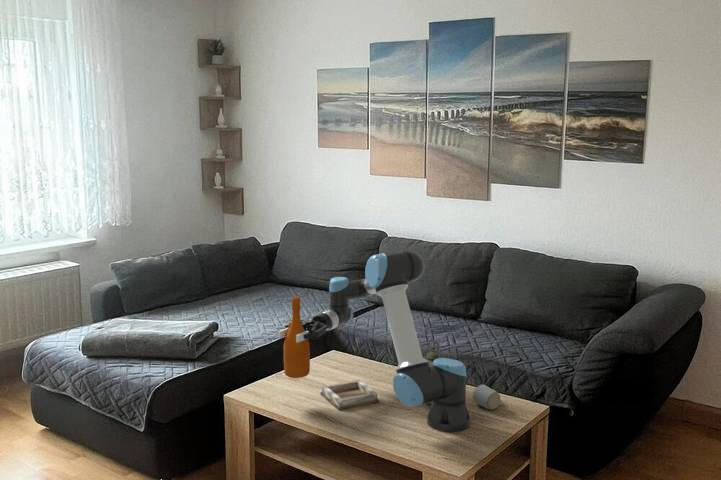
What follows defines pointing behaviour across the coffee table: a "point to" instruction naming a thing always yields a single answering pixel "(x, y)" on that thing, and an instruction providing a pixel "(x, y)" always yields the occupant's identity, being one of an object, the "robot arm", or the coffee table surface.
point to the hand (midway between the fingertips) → (288, 337)
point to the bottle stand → (349, 394)
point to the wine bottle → (296, 346)
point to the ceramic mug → (486, 397)
